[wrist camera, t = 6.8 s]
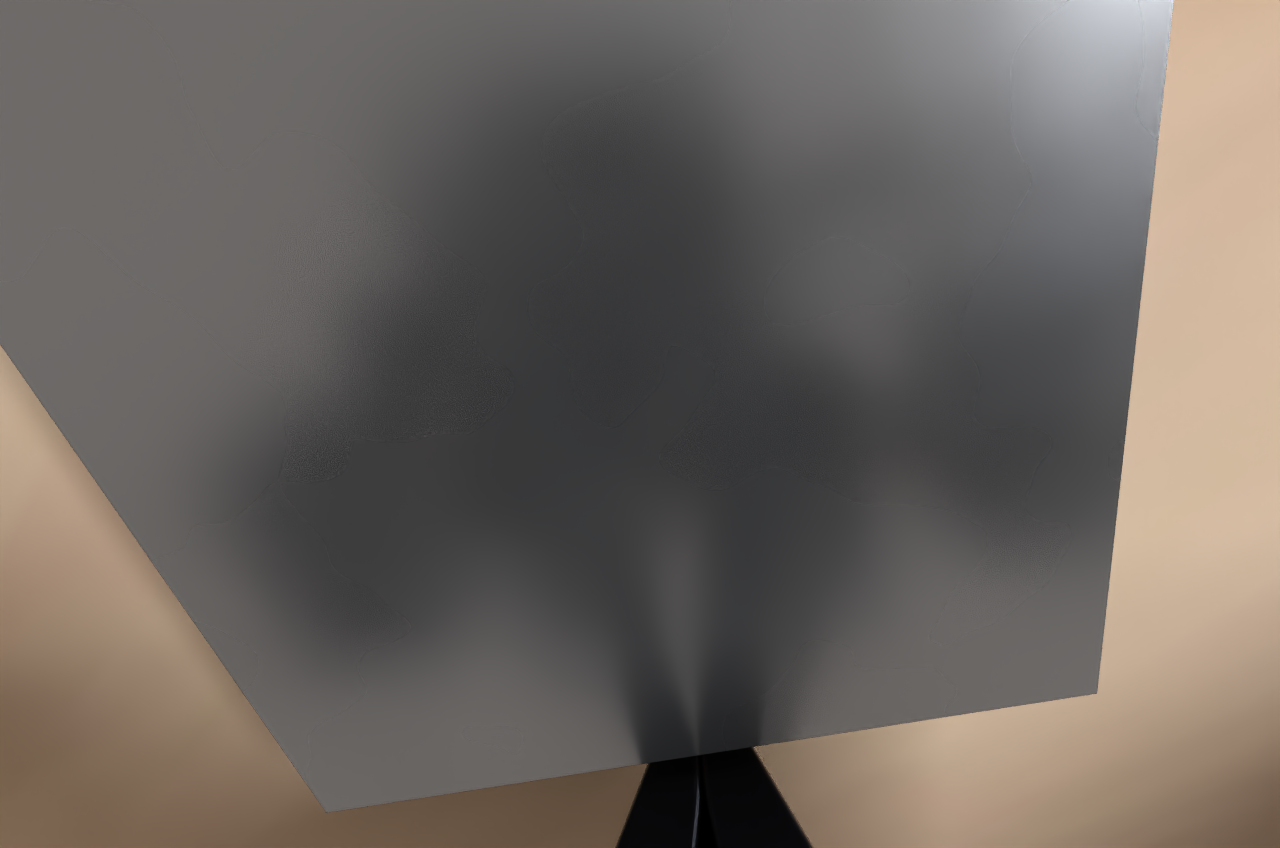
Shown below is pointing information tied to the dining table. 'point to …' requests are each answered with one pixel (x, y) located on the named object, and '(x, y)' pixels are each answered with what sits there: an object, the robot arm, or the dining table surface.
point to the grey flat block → (593, 355)
